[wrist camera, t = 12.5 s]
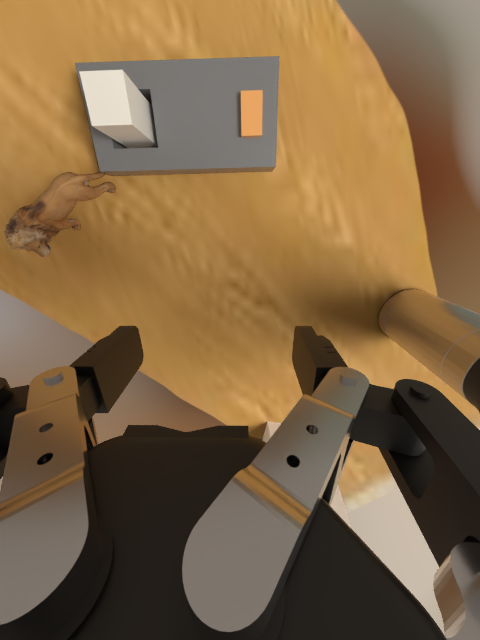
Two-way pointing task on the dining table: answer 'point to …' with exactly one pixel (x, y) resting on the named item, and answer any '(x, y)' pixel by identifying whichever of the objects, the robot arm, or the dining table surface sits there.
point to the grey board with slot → (198, 116)
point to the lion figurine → (52, 212)
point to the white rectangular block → (119, 108)
